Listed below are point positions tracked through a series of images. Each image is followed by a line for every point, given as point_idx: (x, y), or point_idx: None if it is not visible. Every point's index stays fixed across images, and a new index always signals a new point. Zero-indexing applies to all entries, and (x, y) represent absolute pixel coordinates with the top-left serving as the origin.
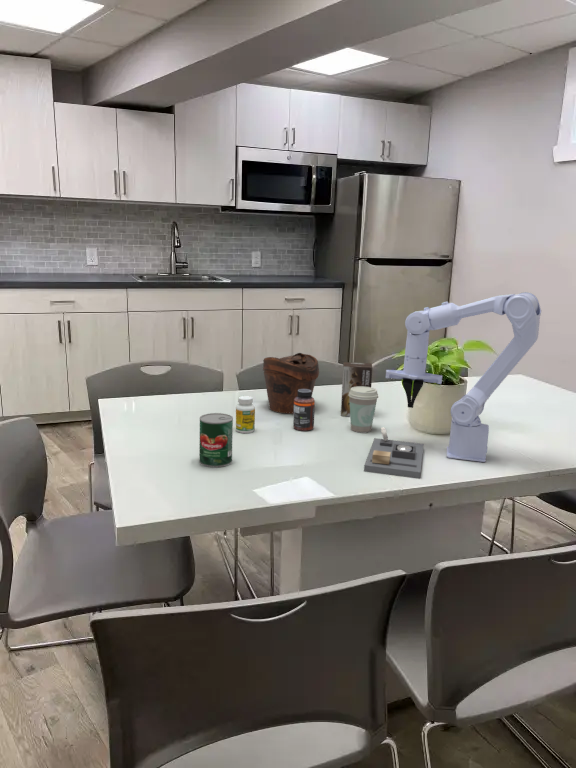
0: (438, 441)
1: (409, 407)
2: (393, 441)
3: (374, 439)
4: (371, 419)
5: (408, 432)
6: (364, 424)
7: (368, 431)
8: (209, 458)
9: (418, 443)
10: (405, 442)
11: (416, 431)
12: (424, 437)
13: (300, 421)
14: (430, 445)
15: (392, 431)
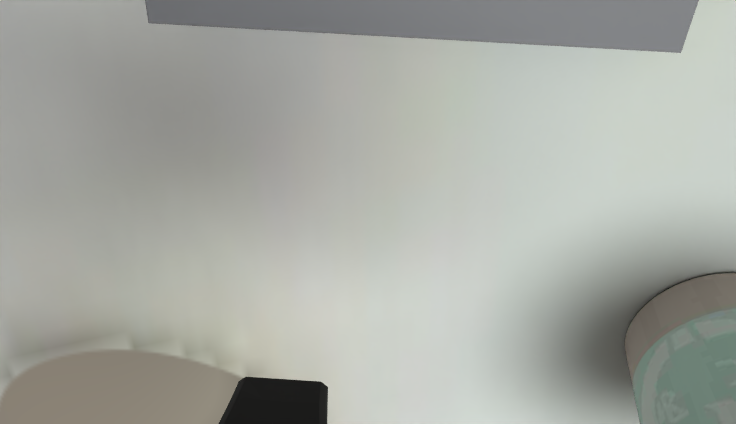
0: (81, 238)
1: (295, 380)
2: (474, 2)
3: (689, 6)
4: (674, 385)
5: (332, 356)
6: (731, 324)
7: (657, 298)
8: None
9: (202, 15)
10: (341, 6)
11: None
12: (203, 292)
13: None
14: (121, 129)
15: (453, 349)
